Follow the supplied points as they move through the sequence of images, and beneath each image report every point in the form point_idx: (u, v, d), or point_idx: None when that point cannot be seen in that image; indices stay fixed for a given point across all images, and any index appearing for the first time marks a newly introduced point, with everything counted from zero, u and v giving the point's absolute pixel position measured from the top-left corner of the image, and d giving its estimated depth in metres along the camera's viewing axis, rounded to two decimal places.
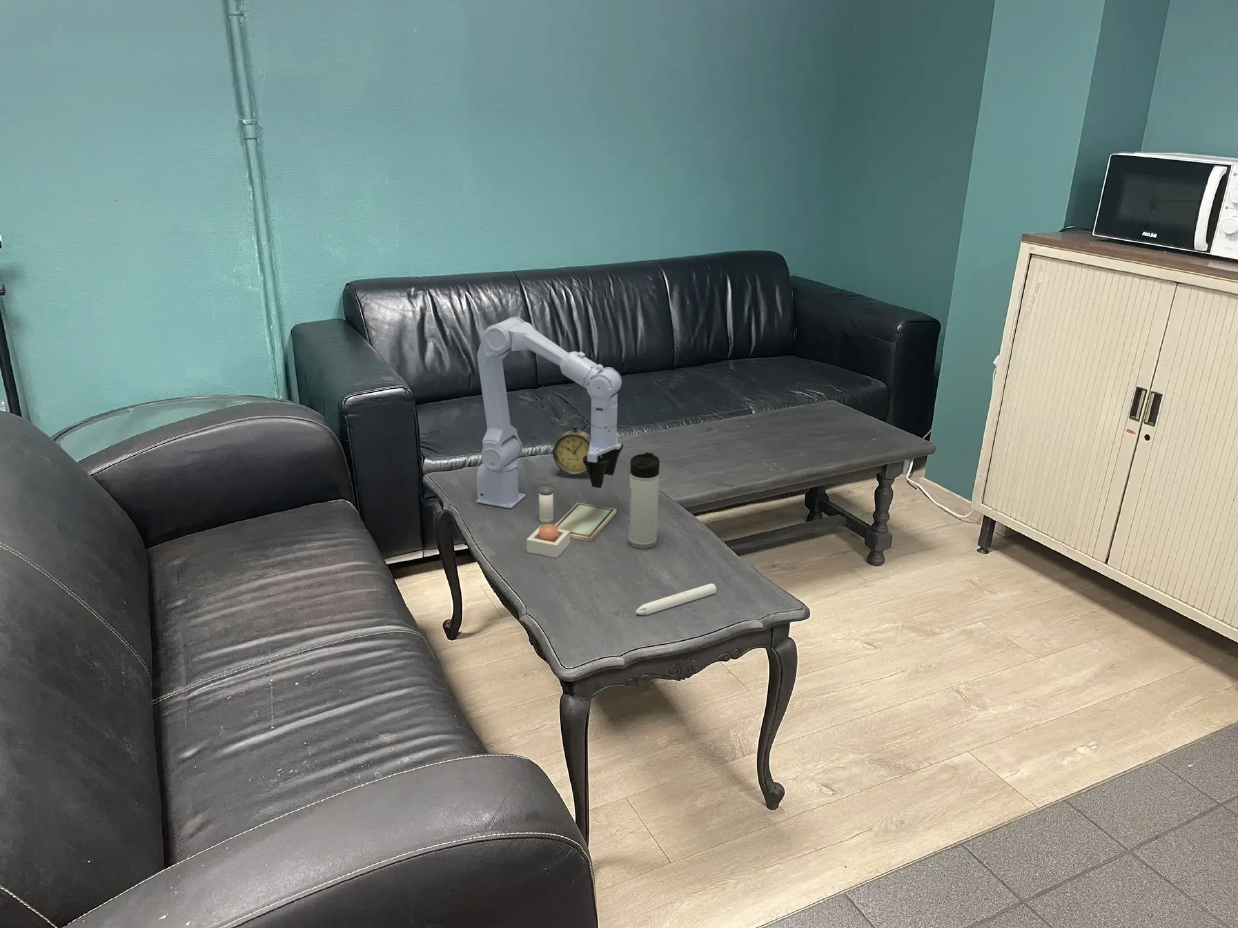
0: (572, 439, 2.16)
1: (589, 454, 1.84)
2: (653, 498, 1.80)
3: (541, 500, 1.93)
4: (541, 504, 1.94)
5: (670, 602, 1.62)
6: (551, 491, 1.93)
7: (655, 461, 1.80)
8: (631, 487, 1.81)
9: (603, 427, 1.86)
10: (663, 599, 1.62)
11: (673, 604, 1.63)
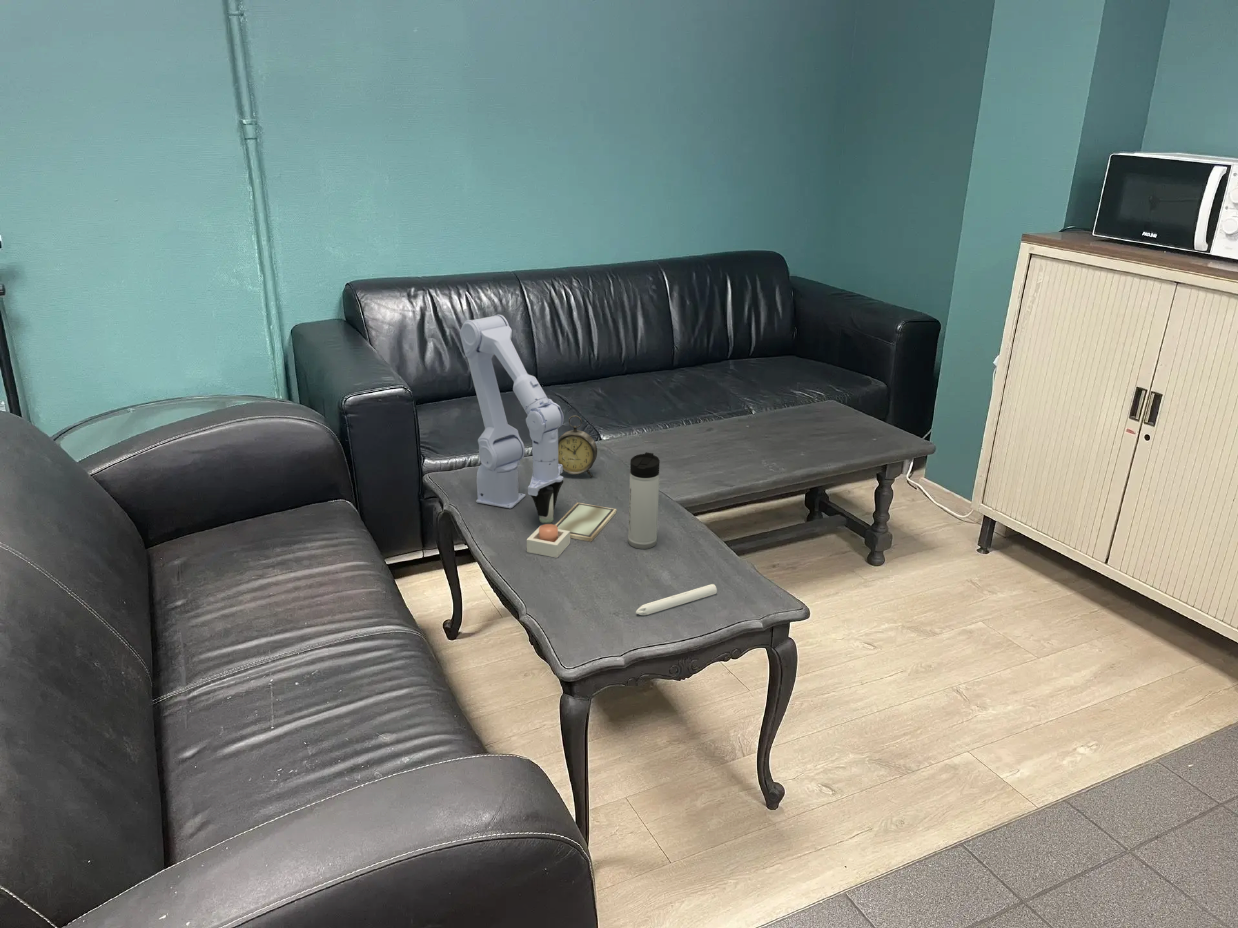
0: (572, 439, 2.16)
1: (529, 488, 1.86)
2: (653, 498, 1.80)
3: None
4: None
5: (670, 602, 1.62)
6: None
7: (655, 461, 1.80)
8: (631, 487, 1.81)
9: (539, 460, 1.88)
10: (663, 599, 1.62)
11: (673, 605, 1.63)
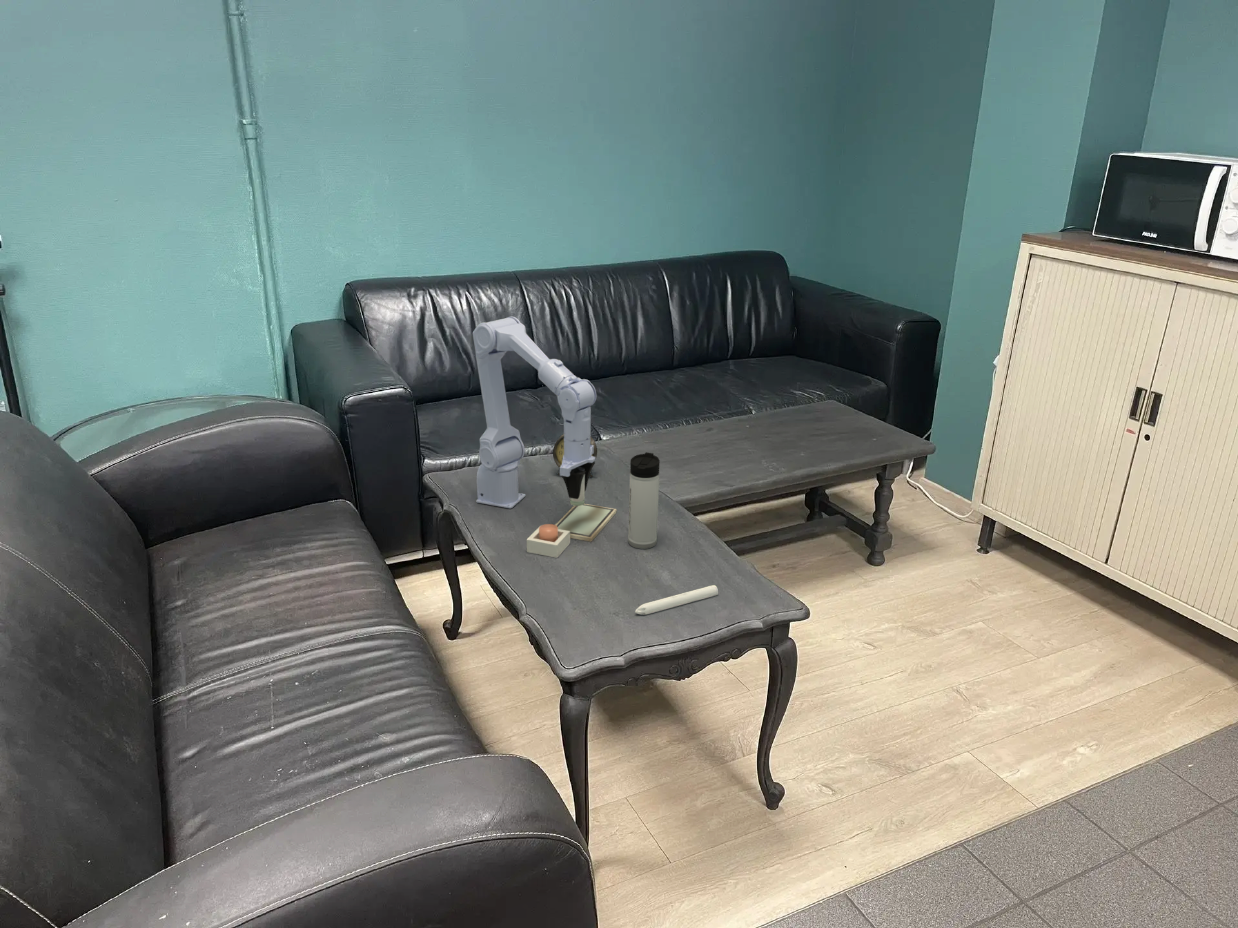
0: None
1: (561, 468, 1.79)
2: (653, 498, 1.80)
3: None
4: None
5: (670, 602, 1.62)
6: None
7: (655, 461, 1.80)
8: (631, 487, 1.81)
9: (572, 440, 1.81)
10: (663, 599, 1.62)
11: (673, 605, 1.63)
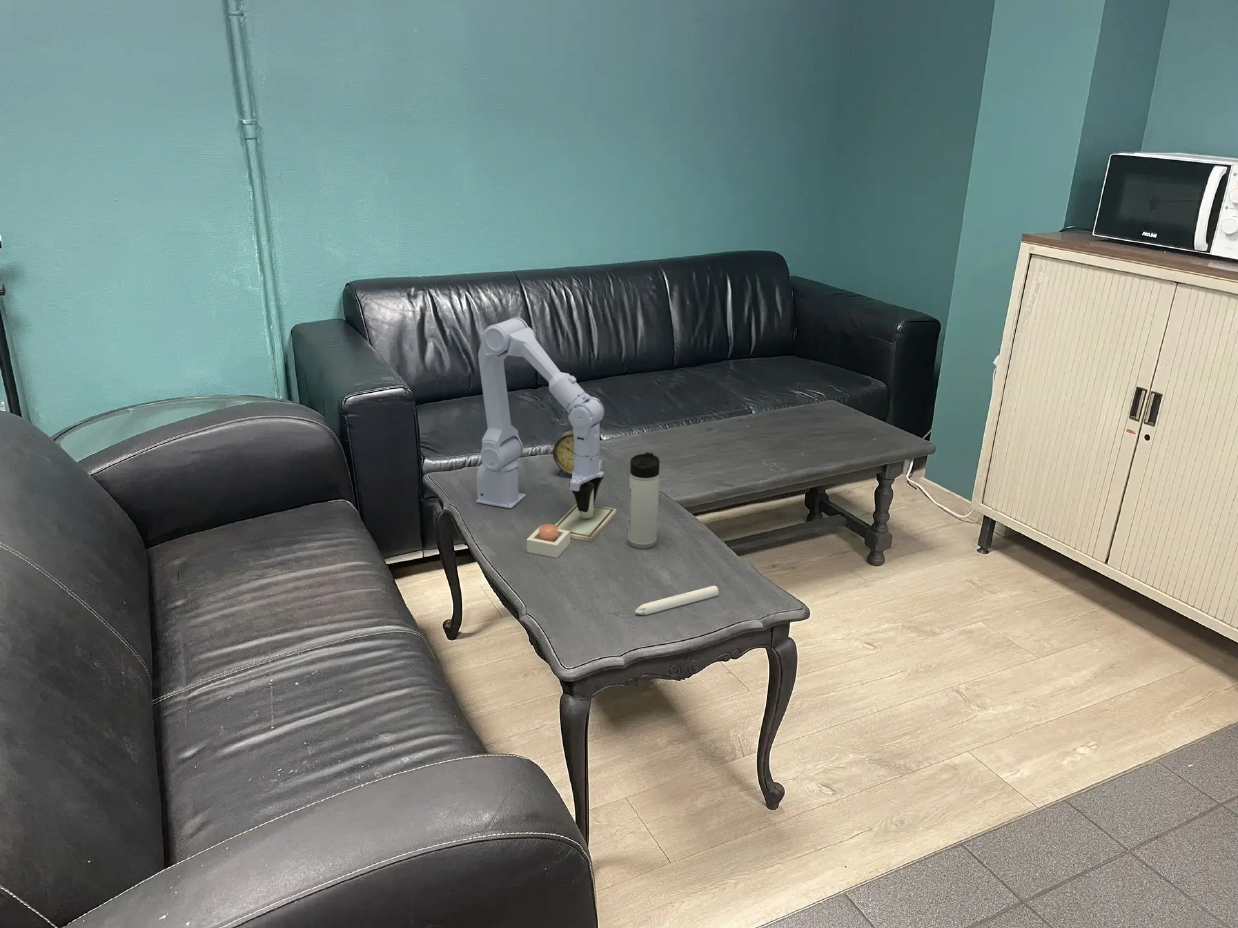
0: (572, 439, 2.16)
1: (571, 483, 1.86)
2: (653, 498, 1.80)
3: None
4: None
5: (670, 603, 1.62)
6: None
7: (655, 461, 1.80)
8: (631, 487, 1.81)
9: (584, 456, 1.88)
10: (663, 600, 1.62)
11: (673, 605, 1.62)
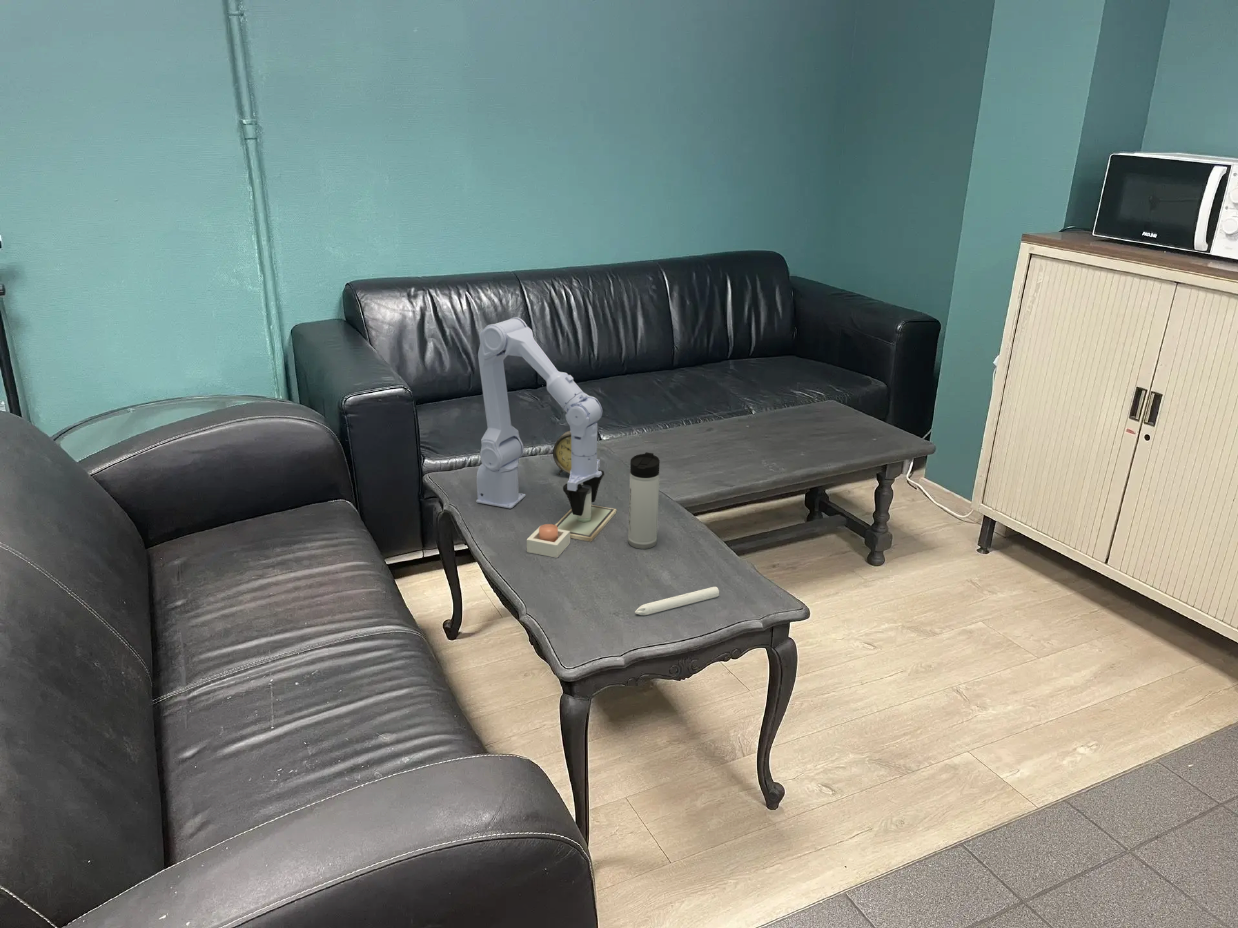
0: None
1: (569, 483, 1.85)
2: (653, 498, 1.80)
3: None
4: None
5: (671, 603, 1.62)
6: (589, 490, 1.92)
7: (655, 461, 1.80)
8: (631, 487, 1.81)
9: (581, 455, 1.86)
10: (663, 600, 1.62)
11: (673, 606, 1.62)
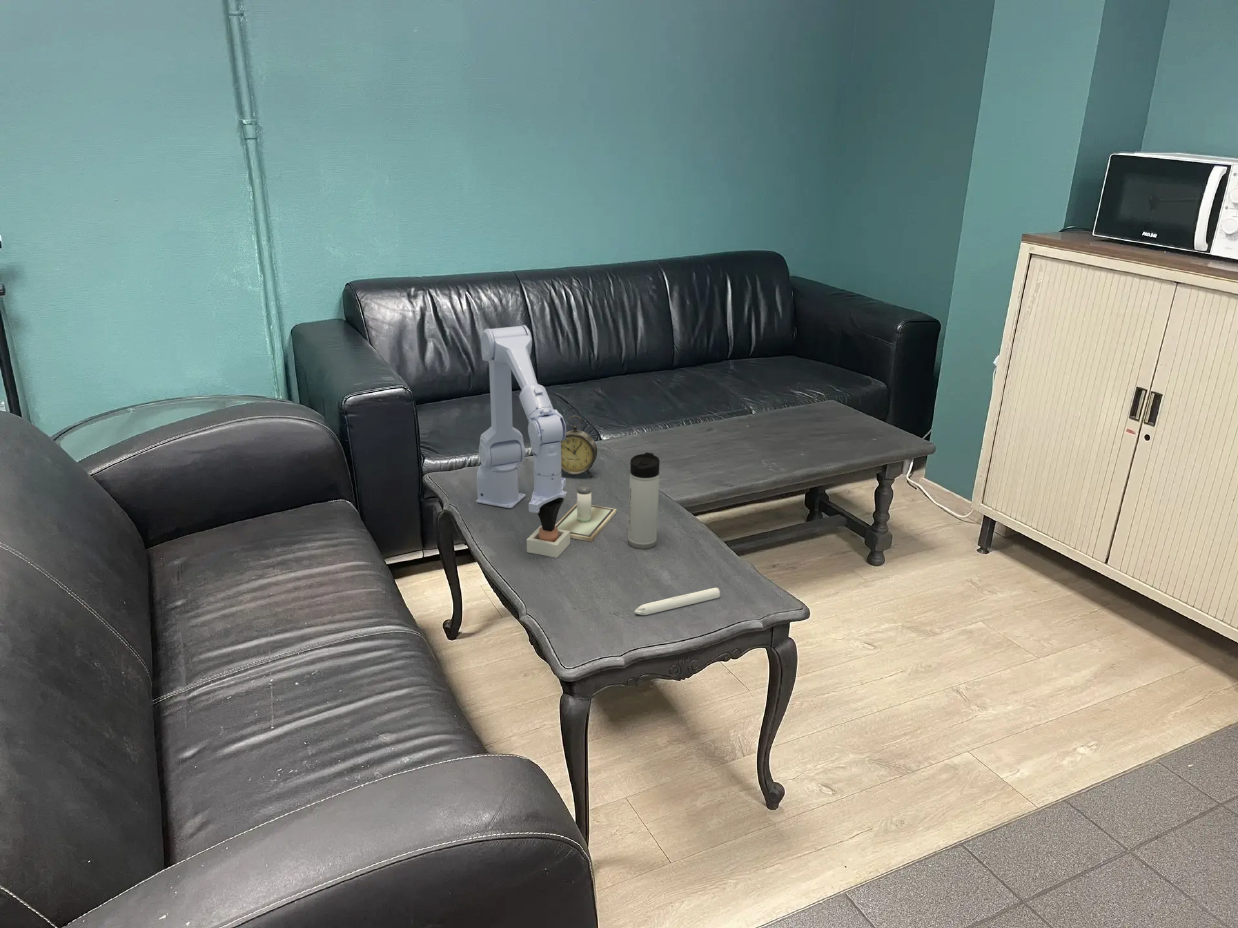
0: (572, 439, 2.16)
1: (531, 505, 1.73)
2: (653, 498, 1.80)
3: (579, 499, 1.92)
4: (579, 503, 1.92)
5: (671, 604, 1.62)
6: (589, 490, 1.92)
7: (655, 461, 1.80)
8: (631, 487, 1.81)
9: (537, 473, 1.75)
10: (663, 600, 1.62)
11: (674, 606, 1.62)
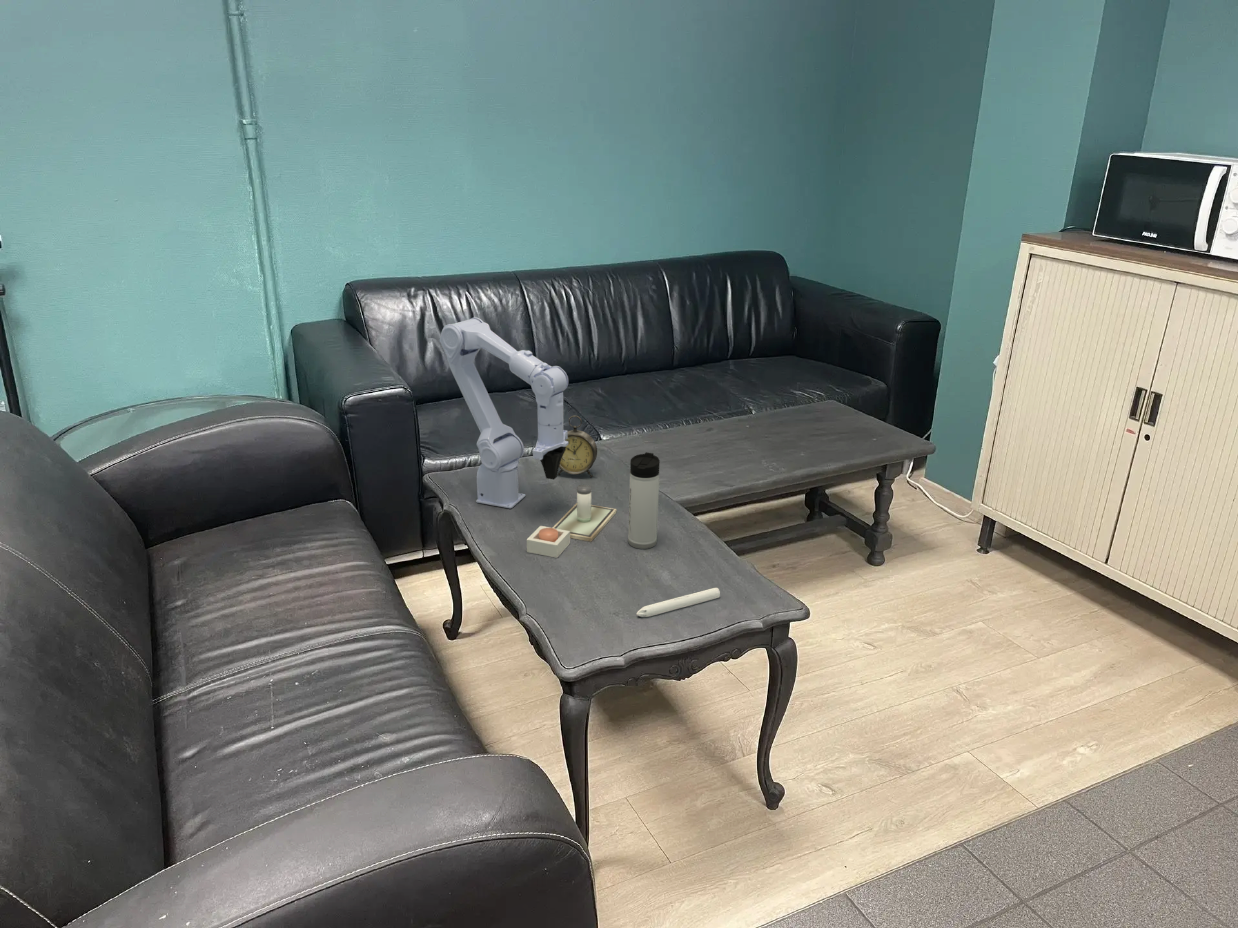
0: (572, 439, 2.16)
1: (535, 452, 1.86)
2: (653, 498, 1.80)
3: (579, 499, 1.92)
4: (579, 503, 1.92)
5: (672, 605, 1.61)
6: (589, 490, 1.92)
7: (655, 461, 1.80)
8: (631, 487, 1.81)
9: (547, 425, 1.88)
10: (665, 602, 1.61)
11: (675, 607, 1.62)
